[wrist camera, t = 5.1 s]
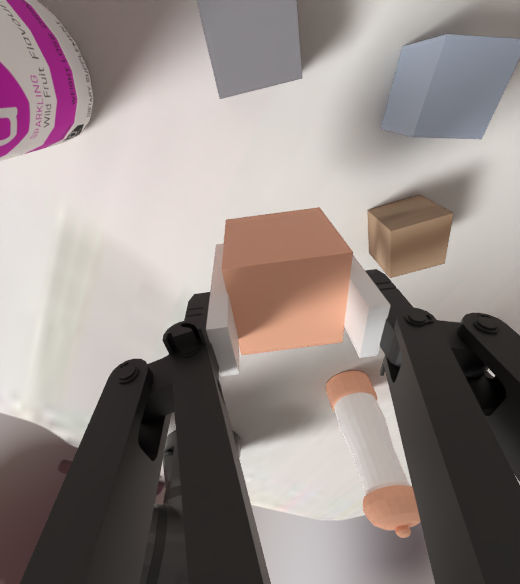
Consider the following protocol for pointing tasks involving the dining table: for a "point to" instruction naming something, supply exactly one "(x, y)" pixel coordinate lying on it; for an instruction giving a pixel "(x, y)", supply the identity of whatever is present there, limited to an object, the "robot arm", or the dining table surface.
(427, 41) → the slate blue cube
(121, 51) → the dining table surface
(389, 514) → the pepper shaker
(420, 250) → the walnut cube
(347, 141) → the dining table surface
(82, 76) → the supplement can
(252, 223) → the terracotta cube
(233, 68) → the charcoal cube
